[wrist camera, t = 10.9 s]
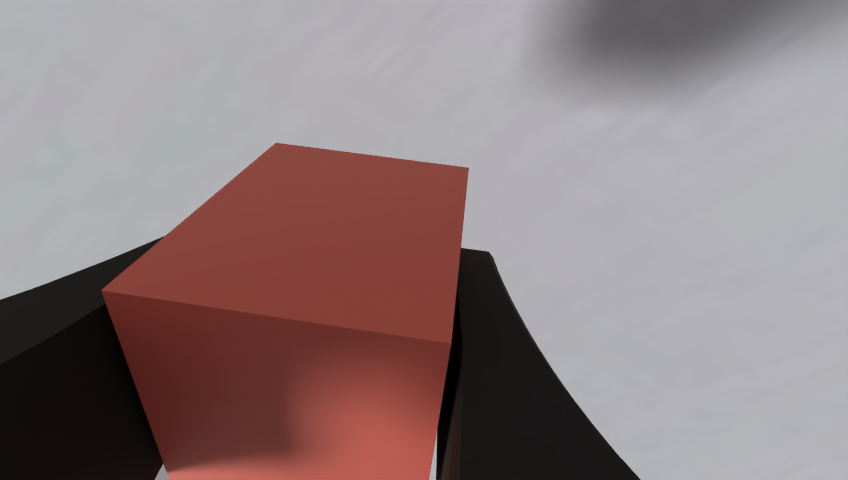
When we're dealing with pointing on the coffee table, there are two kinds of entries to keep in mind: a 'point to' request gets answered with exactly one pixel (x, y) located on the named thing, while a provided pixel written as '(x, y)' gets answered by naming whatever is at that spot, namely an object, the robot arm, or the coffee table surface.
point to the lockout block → (299, 320)
